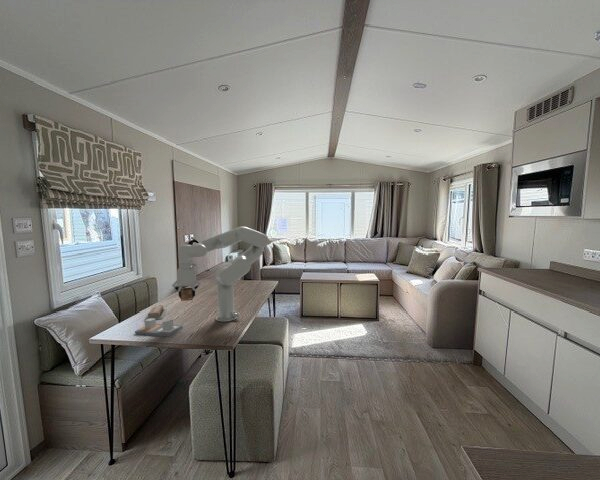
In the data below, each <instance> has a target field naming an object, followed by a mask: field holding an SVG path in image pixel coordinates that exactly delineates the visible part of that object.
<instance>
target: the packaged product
mask: <svg viewBox="0 0 600 480" xmlns="http://www.w3.org/2000/svg"><path fill="white" fill-rule="evenodd" d="M167 312H168V309H167V308H164V305H161V304H160V305H155V306H152V308H151V309H150V310H149V312H148V314H147V316H146V317H145V319H144V321H145V320H147V319H149V318H153V319H156V321H157V320H163V319H164V317H165V316H166V314H167Z"/></svg>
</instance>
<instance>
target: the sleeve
mask: <svg viewBox="0 0 600 480" xmlns="http://www.w3.org/2000/svg"><path fill="white" fill-rule="evenodd" d="M192 291H193V289H192V287H191V286H189V287H182V288H181V299H180V301H181V302H185V301H186V302H187V301H193V299H194V298H193V295H192Z"/></svg>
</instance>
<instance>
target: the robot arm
mask: <svg viewBox="0 0 600 480" xmlns="http://www.w3.org/2000/svg"><path fill="white" fill-rule="evenodd" d="M240 242H245V243H247V244H249V245H250V246H249V248H248V249H246V250H245V251H243V252H242V253H240V254H239V255H237V256H236V257H235V258H233V260H232V263H231V264H230V265H229V266H220V267H219V268H218V269H217V271H216V274H215V275H216V276H215V278H216V288H217V315H216V316H215V320H216V321H217V322H220V323H223V322H227V323H228V322H231V321H235V320H237V318H240V317H241V313H240V312H237V310H236V309H235V290H234V283H236V282H238V280H240V279H241V278H242V277H244V276H245V275H246V274H248V273H249V272H250V270H251V267H252V264H253V263H254V262H256V261H257V260H258V259H259V258H260V257H261V256H262V254H263V251H264V248H265V247H267V246H268V245H269V242H270V239H269V236H268V235H266V234H265V233H263V232H261V231H257V230H255V229H253V228H249V227H247V226H243V225H242V226H237V227H235V228H233V229H230V230H228V231H225V232H223V233H220V234H217V235H215V236H212V237H209V238H207V239H204V240H202V241H200V242H198V243H197V242H196V243H195V244H180V245H179V246H178V247H177V248H178V250H177V251H178V269H177V275H176V280H175V281H174V283H172V285H171V287H172V288H173V289H175V290H177V292H178V298H179V299H180V300H181V289H182V288H187V287H192V289H193V291H192V295H193V299H194V298H195V297H196V290H197V289H198V288H199V286H201V285H202V283H201V281H199V279H197V274H196V269H195V267H196V266H197V263H194V258H203V257H205V256H206V255H207V253H209V252H212V251H214V250H219V249H225V248H229V247H230V246H233V245H235V244H237V243H240Z"/></svg>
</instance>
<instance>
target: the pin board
mask: <svg viewBox="0 0 600 480" xmlns="http://www.w3.org/2000/svg"><path fill="white" fill-rule="evenodd" d="M156 321H157V320H156V319H153V318H149V319H147V320H145V319H144V326H143V327H141V328H139V329H137V330H135V331H134V333H136V334H135V335H141V334H145V335H146V336H155V337H170V336H172V335H174V334H175V333H177V332H179V331H180V330H182V329H183V325H182V324H181V325H180V324H174V319H167V318H166V319H165V320H164V321H162V323H156ZM145 335H144V336H145Z"/></svg>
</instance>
